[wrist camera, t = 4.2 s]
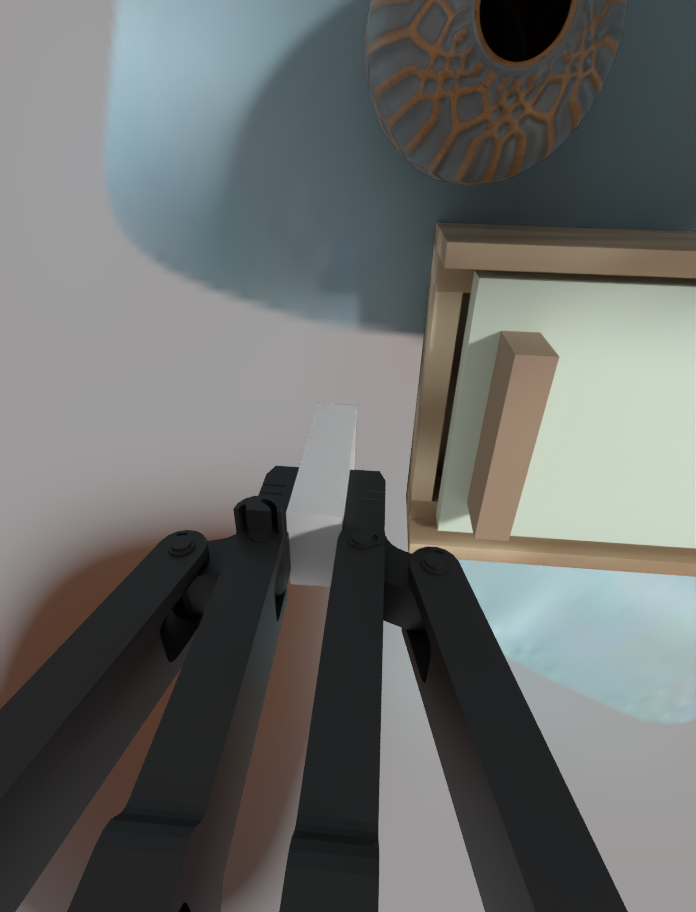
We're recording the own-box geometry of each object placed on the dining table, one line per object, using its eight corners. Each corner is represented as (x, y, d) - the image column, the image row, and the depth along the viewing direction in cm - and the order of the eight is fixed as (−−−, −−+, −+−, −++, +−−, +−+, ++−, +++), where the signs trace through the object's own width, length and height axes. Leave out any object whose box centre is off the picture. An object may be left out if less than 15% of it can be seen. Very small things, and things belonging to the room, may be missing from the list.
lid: (474, 270, 18) (491, 296, 15) (895, 287, 17) (1005, 318, 14) (435, 514, 24) (441, 567, 21) (740, 534, 23) (792, 593, 20)
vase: (340, 128, 18) (303, 115, 11) (428, -127, 14) (464, -408, 7) (498, 210, 19) (563, 250, 12) (617, -7, 16) (819, -146, 8)
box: (436, 222, 20) (447, 242, 15) (849, 236, 19) (975, 261, 15) (406, 495, 27) (408, 555, 23) (698, 514, 26) (753, 580, 22)
